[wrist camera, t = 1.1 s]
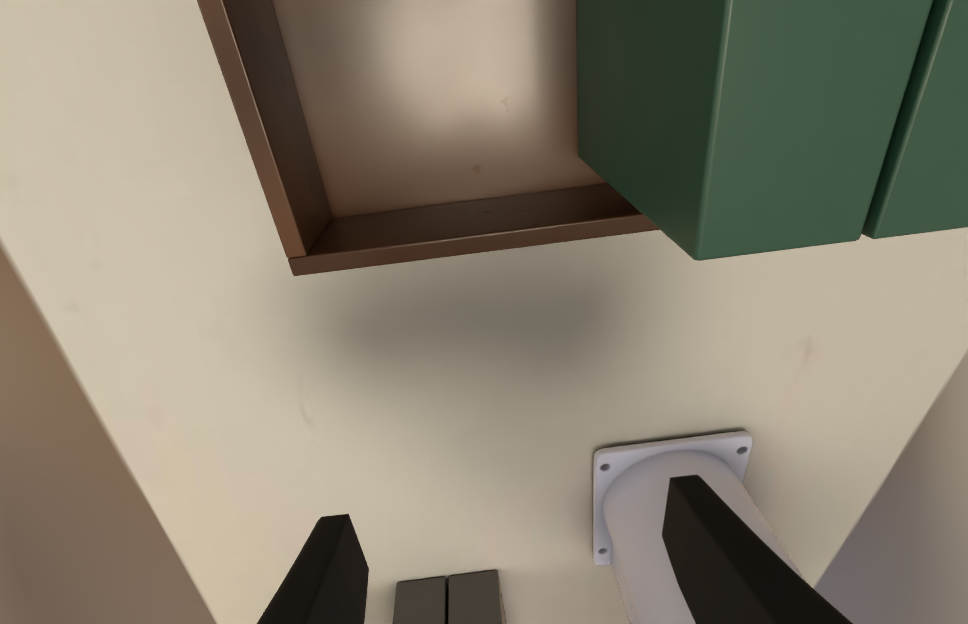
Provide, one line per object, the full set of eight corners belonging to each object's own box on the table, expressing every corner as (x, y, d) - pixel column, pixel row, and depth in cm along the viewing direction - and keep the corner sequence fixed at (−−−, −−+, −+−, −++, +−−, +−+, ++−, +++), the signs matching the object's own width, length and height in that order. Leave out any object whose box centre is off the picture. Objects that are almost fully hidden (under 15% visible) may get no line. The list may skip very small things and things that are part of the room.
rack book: (663, 146, 16) (861, 241, 8) (577, 157, 16) (694, 263, 8) (684, -122, 13) (1057, -387, 5) (574, -107, 13) (770, -348, 5)
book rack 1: (756, 175, 17) (832, 208, 14) (324, 231, 17) (292, 277, 14) (826, -214, 12) (973, -316, 9) (216, -135, 12) (124, -204, 9)
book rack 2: (756, 134, 16) (1039, 219, 8) (669, 146, 16) (872, 240, 8) (801, -137, 13) (1362, -425, 5) (692, -123, 13) (1075, -387, 5)
